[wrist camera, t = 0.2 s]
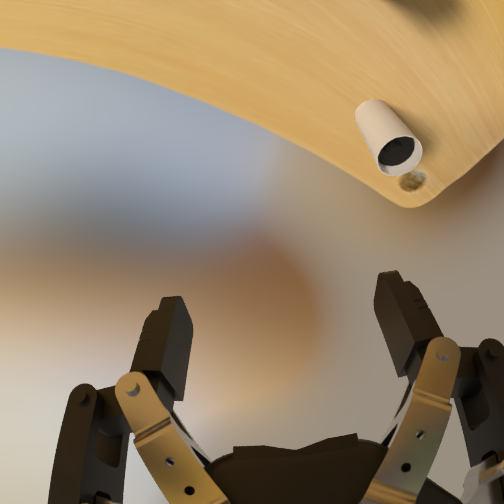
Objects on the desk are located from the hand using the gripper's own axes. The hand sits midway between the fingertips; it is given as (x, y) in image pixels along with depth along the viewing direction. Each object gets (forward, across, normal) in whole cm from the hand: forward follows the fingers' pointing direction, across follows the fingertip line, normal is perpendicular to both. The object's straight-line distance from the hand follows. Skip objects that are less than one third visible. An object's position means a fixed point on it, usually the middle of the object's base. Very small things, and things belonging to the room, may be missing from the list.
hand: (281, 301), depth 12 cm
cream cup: (+33, -17, -1) cm, 37 cm away
